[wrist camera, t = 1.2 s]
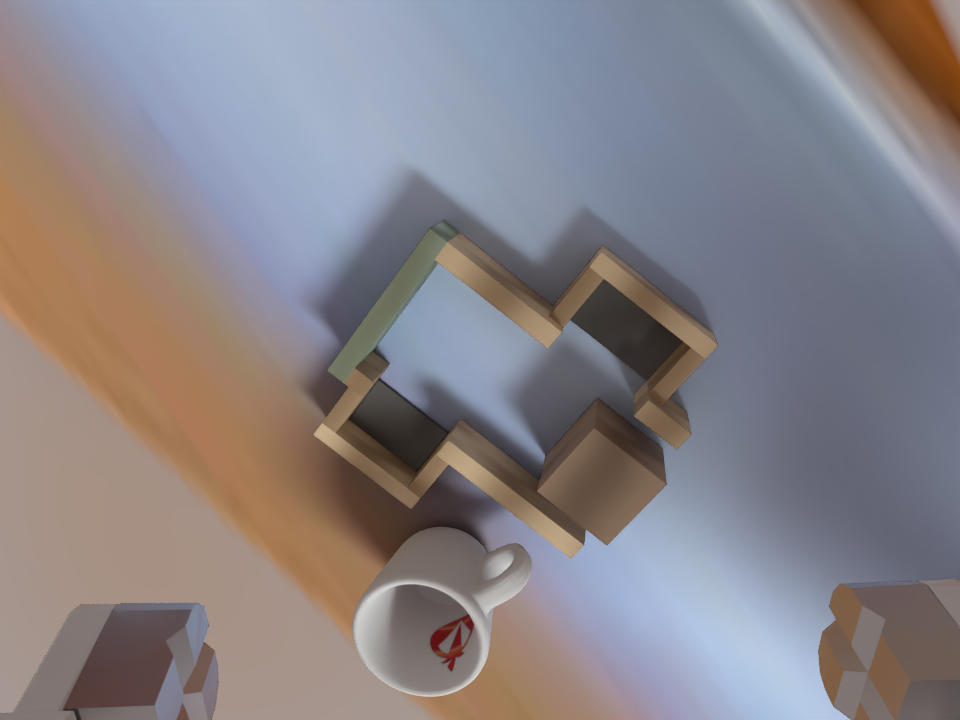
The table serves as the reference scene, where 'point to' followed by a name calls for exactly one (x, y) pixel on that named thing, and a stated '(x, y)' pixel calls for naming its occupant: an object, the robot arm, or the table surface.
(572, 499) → the block
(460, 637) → the cup
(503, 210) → the table surface
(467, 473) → the wooden flat frame
